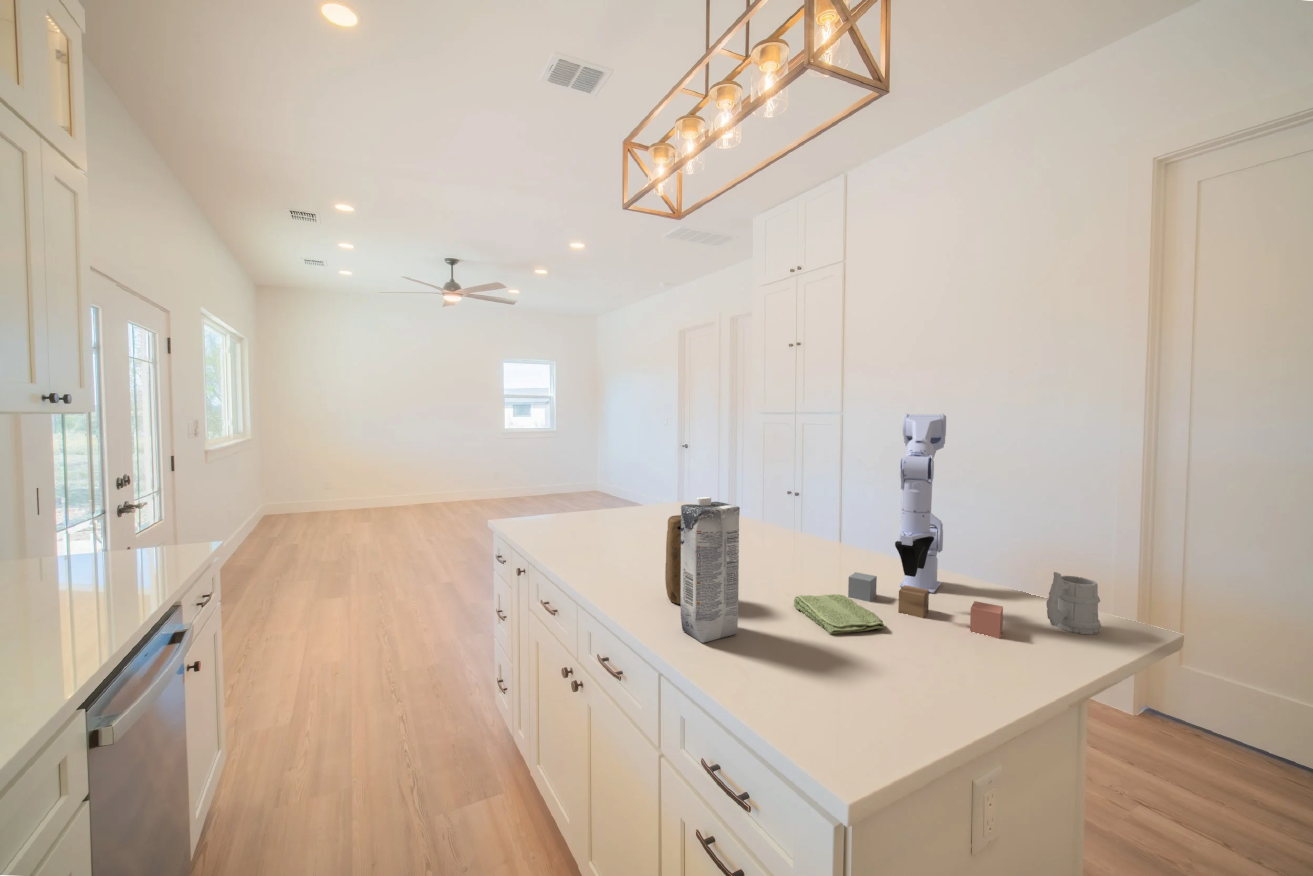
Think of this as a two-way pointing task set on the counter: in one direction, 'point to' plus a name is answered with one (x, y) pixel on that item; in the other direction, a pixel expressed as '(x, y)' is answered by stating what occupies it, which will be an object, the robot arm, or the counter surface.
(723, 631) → the juice carton
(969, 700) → the counter surface
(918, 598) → the walnut block
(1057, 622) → the mug
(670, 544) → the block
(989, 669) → the counter surface
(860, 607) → the washcloth
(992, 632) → the brick red block
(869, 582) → the slate grey block
